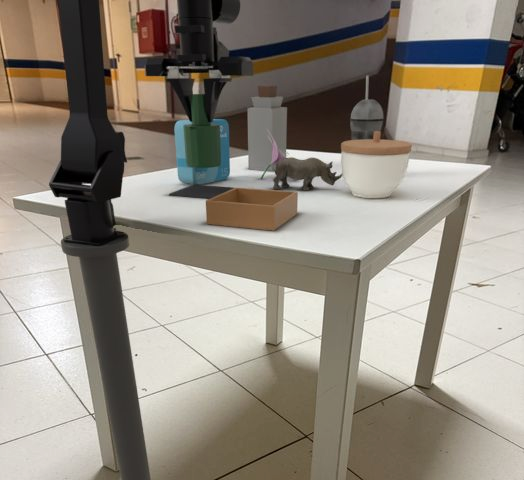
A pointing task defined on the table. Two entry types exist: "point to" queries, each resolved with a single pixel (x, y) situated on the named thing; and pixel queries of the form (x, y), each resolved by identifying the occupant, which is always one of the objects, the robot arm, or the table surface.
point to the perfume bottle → (259, 119)
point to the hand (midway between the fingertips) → (201, 121)
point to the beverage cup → (366, 118)
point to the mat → (201, 191)
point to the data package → (202, 174)
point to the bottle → (201, 137)
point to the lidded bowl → (374, 165)
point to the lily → (275, 155)
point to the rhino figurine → (303, 172)
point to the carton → (252, 208)
